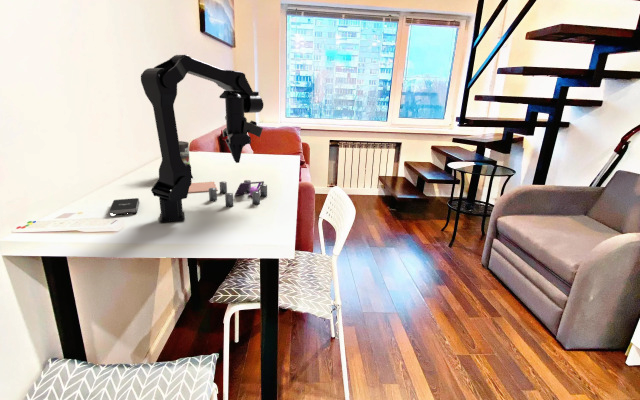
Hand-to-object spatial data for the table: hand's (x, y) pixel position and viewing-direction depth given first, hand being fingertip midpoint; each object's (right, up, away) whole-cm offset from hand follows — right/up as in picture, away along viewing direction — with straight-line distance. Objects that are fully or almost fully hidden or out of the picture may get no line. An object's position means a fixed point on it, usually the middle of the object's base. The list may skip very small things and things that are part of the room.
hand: (236, 162), depth 115 cm
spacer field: (0, -12, +3) cm, 13 cm away
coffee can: (-31, -3, +27) cm, 41 cm away
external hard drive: (-31, -16, -11) cm, 36 cm away
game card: (0, -10, +3) cm, 11 cm away
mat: (-16, -8, +14) cm, 23 cm away
